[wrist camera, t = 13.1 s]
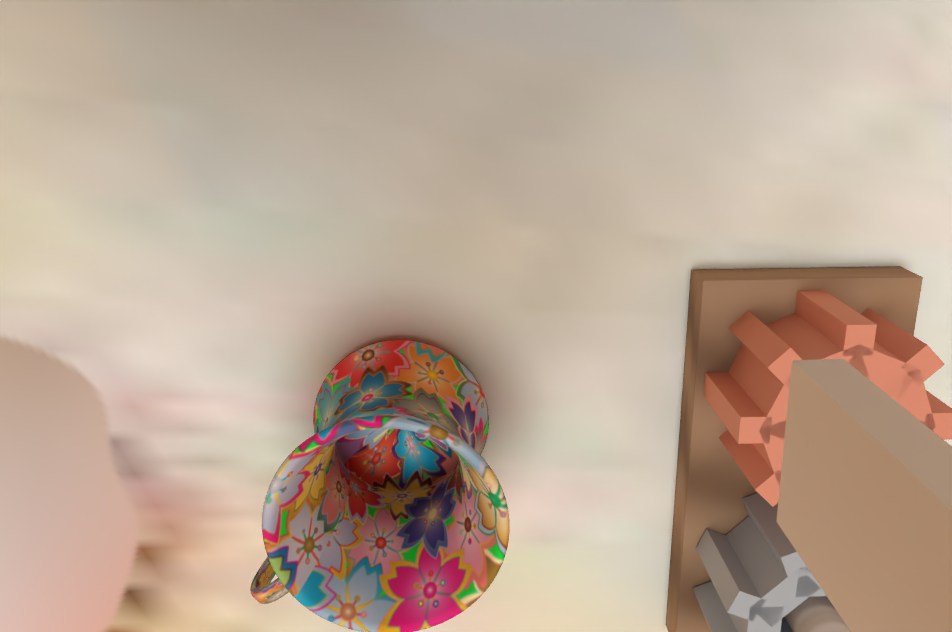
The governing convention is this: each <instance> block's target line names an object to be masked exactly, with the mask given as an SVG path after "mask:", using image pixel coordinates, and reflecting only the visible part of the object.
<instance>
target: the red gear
mask: <svg viewBox="0 0 952 632" xmlns="http://www.w3.org/2000/svg"><path fill="white" fill-rule="evenodd" d="M728 329H729V330H730V331H731V332H732V333H733V334H734V335H735V336H736V337H737V338H738V339H739V340H740V341H741V342H742V343H743V344H742V346H741V348H740V350H739V352H738V354H737V356H736V358H735V360H734V362H733V363H732V365H731V367H730V369H729V371H728V372H705V383H704V398H705V399H706V400H707V402H708V403H709V404H710V406H711V407H712V409H713V410H714V411H715V413H716V414H717V415H718V417H719V418H720V420H721V421H722V422H723V424H724V425H725V426H726V428H727V429H728V430H727V431H725V432H724V433H723V434H722V435H721V436H720V437H719V438H720V440H721V441H722V443H723V444H724V446H725V447H726V449H727V450H728V452H729V453H730V454H731V456H732V457H733V459H734V460H735V462H736V463H737V465H738V466H739V467H740V469H741V470H742V472H743V473H744V475H745V476H746V478H747V479H748V481H749V482H750V483H751V485H752V486H753V488H754V489H755V490H756V491H757V492H758V493H759V494H760V495H761V496H762V497H763V498H764V499H765V500H766V501H767V502H768V503H769V504H770V505H771V506H772V507H773V506H775V505H776V504H777V503H778V500H779V489H780V479H781V469H782V459H783V448H784V438H785V428H786V418H787V407H788V397H789V387H790V376H791V366H792V360H817V359H844V360H845V361H847V362H848V363H849V364H850V365H852V366H853V367H854V368H855V369H857V370H858V371H859V372H860V373H861V374H863V375H864V376H865V377H866V378H868V379H869V380H870V381H871V382H873V383H874V384H875V385H876V386H878V387H879V388H880V389H881V390H882V391H884V392H885V393H886V394H887V395H889V396H890V397H891V398H892V399H894V400H895V401H896V402H897V403H898V404H900V405H901V406H902V407H903V408H905V409H906V410H907V411H908V412H910V413H911V414H912V415H913V416H915V417H916V418H917V419H918V420H919V421H921V422H922V423H923V424H924V425H926V426H927V427H928V428H929V429H931V430H932V431H933V432H934V433H936V434H937V435H938V436H939V437H940V438H942V439H952V408H950V407H949V406H947V405H946V404H945V403H943V402H942V401H940V400H939V399H938V398H936V397H935V396H933V395H932V394H931V393H929V392H928V391H926V390H925V386H924V383H923V382H924V381H925V380H926V379H928V378H929V377H930V376H931V375H932V374H934V373H935V372H936V371H937V370H938V369H940V368H941V367H942V366H943V365H944V363H943V362H942V361H941V360H940V358H939V357H938V356H937V355H936V354H935V353H934V352H933V351H932V350H931V348H930V347H929V346H928V345H927V344H925V343H923V342H922V341H920V340H919V339H917V338H915V337H914V336H912V335H910V334H909V333H907V332H906V331H904V330H902V329H901V328H899V327H898V326H896V325H894V324H893V323H891V322H889V321H888V320H886V319H885V318H883V317H881V316H880V315H878V314H876V313H875V312H873V311H872V310H870V309H868V308H867V309H866V310H865V311H864V312H863V313H862V314H860V313H858V312H857V311H855V310H853V309H852V308H850V307H849V306H847V305H846V304H844V303H843V302H841V301H839V300H838V299H836V298H835V297H833V296H832V295H830V294H829V293H827V292H825V291H824V290H801V291H797V296H796V305H795V313H793V314H791V315H788V316H786V317H783V318H781V319H778V320H776V321H773V322H771V323H768V324H766V325H764V324H763V323H762V322H761V321H760V320H759V319H758V318H756V317H755V316H754V315H753V314H752V313H751V312H750V311H747V312H746V313H744V314H743V315H742V316H741V317H740V318H739V319H738V320H737V321H736V322H734V323H733V324H732V325H731V326H730V327H729V328H728Z"/></svg>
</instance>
